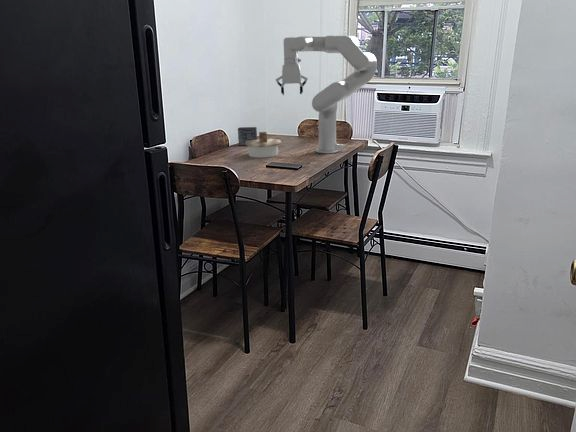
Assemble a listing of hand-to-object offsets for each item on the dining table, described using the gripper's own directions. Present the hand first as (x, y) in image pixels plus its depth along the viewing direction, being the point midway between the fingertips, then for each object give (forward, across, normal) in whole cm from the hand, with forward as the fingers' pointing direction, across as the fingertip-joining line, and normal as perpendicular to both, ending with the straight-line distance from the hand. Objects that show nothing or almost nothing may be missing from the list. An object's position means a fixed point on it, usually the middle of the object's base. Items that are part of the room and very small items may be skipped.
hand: (292, 94), depth 280 cm
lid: (+24, +17, +12) cm, 32 cm away
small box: (+31, +26, -20) cm, 45 cm away
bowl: (+30, +17, +12) cm, 37 cm away
